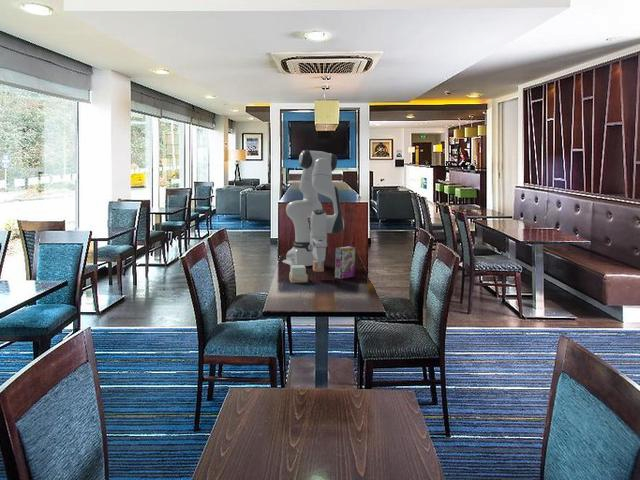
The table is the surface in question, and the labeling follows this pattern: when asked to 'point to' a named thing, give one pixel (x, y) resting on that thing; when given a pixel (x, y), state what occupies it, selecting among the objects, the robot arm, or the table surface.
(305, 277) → the tower base
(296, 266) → the tower top
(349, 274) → the candy bar box
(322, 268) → the terracotta cube
